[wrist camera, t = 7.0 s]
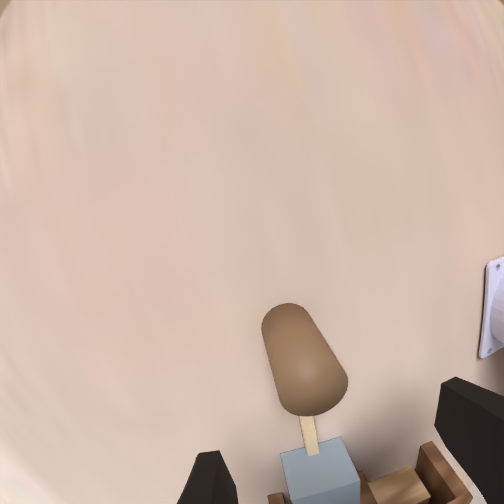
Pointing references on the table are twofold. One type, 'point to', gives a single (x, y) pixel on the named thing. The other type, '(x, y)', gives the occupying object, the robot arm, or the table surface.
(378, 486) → the oak block
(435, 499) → the walnut shelf
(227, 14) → the table surface
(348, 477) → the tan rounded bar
